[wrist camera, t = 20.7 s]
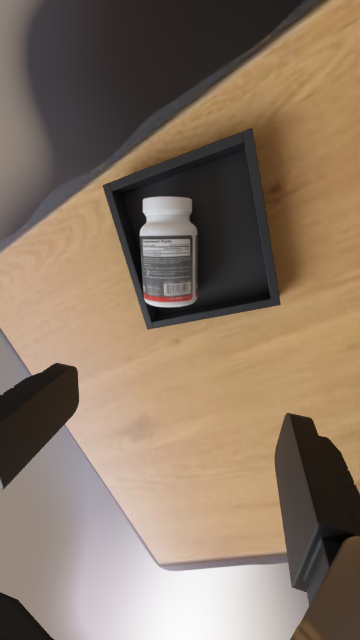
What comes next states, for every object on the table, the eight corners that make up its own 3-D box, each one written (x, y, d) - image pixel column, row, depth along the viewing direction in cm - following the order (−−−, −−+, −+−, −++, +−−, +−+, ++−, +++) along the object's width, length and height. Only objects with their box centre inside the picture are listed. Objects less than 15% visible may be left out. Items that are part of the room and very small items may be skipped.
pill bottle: (161, 294, 31) (158, 204, 28) (205, 298, 28) (207, 200, 25) (132, 305, 26) (124, 198, 23) (182, 311, 24) (181, 192, 21)
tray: (250, 139, 24) (252, 127, 21) (276, 297, 28) (280, 305, 25) (115, 189, 28) (102, 185, 25) (155, 321, 32) (147, 329, 29)
